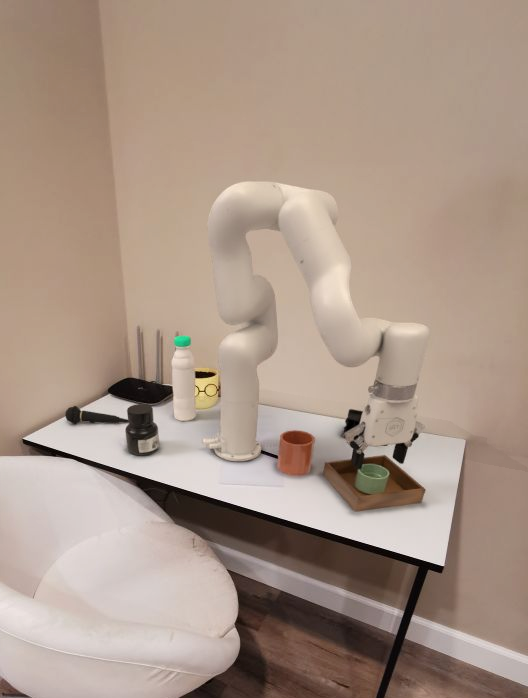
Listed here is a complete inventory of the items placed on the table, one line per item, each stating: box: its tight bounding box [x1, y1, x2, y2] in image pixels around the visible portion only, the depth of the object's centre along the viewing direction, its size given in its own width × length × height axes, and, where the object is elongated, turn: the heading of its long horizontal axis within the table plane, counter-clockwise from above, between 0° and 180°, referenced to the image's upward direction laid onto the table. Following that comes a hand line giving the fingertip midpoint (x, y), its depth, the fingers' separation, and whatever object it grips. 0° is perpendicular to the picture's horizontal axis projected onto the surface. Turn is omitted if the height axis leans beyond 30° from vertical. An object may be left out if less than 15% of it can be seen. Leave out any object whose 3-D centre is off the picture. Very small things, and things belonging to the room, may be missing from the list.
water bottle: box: [170, 335, 197, 422], centre depth 130 cm, size 7×7×25 cm
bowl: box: [355, 464, 389, 495], centre depth 97 cm, size 6×6×4 cm
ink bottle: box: [125, 403, 160, 456], centre depth 117 cm, size 10×9×12 cm
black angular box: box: [342, 408, 364, 443], centre depth 118 cm, size 10×7×7 cm
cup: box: [276, 429, 316, 477], centre depth 105 cm, size 8×8×8 cm
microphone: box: [64, 405, 129, 425], centre depth 135 cm, size 6×6×20 cm
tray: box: [322, 454, 426, 513], centre depth 98 cm, size 15×15×4 cm
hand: (377, 463), depth 95 cm, fingers open, 9 cm apart
